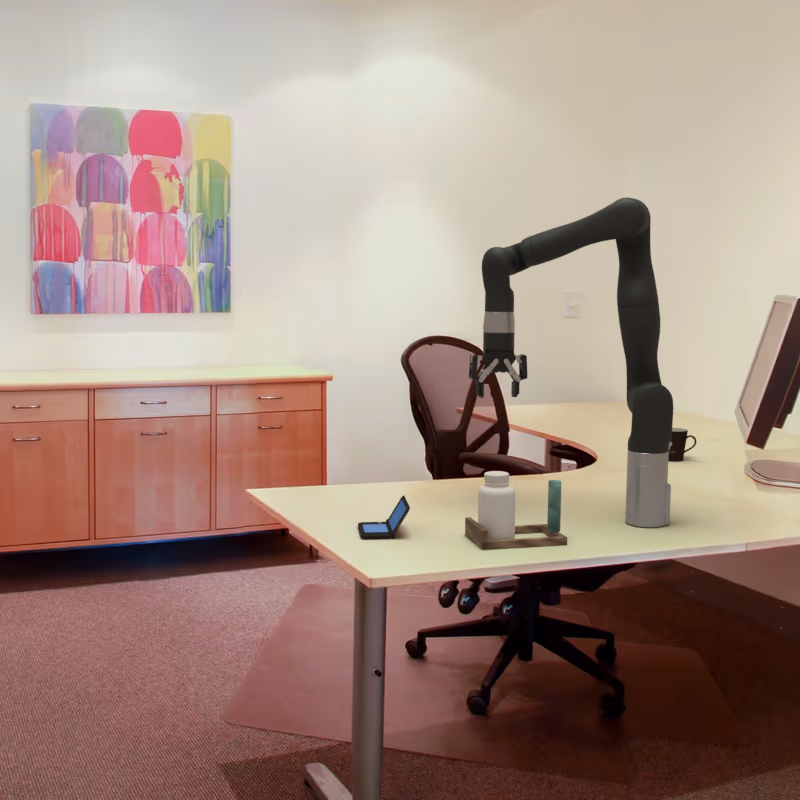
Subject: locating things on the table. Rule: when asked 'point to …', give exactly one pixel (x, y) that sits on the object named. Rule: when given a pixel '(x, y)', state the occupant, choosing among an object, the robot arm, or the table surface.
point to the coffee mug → (678, 444)
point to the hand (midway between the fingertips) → (497, 397)
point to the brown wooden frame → (525, 527)
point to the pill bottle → (497, 506)
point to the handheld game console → (385, 524)
